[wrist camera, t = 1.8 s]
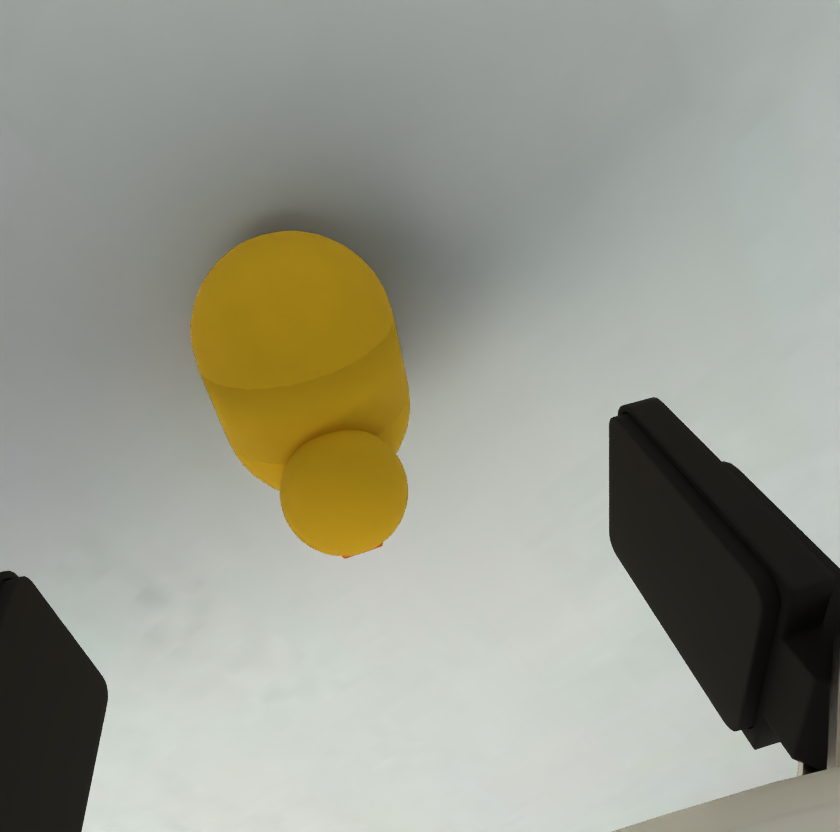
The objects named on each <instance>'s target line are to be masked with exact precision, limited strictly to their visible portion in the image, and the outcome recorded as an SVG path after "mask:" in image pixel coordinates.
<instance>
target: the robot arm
mask: <svg viewBox="0 0 840 832" xmlns="http://www.w3.org/2000/svg"><path fill="white" fill-rule="evenodd" d="M609 535H610V541H611V544H612V547H613V549H614V552H615V553H616V555H617V557H618V558H619V560H620V562H621V563H622V565H623V566H624V568H625V569H626V571H627V572H628V574H629V576H630V577H631V579H632V580H633V582H634V583H635V585H636V586H637V588H638V589H639V591H640V593H641V594H642V596H643V597H644V599H645V600H646V602H647V603H648V605H649V607H650V608H651V610H652V611H653V613H654V614H655V616H656V617H657V619H658V620H659V622H660V624H661V625H662V627H663V628H664V630H665V631H666V633H667V634H668V636H669V637H670V639H671V641H672V642H673V644H674V645H675V647H676V648H677V650H678V651H679V653H680V655H681V656H682V658H683V659H684V661H685V662H686V664H687V665H688V667H689V668H690V670H691V672H692V673H693V675H694V676H695V678H696V679H697V681H698V682H699V684H700V686H701V687H702V689H703V690H704V692H705V693H706V695H707V696H708V698H709V699H710V701H711V703H712V704H713V706H714V707H715V709H716V710H717V712H718V713H719V715H720V716H721V718H722V720H723V721H724V722H725V724H726V725H727V726H728V727H729V728H730V729H731V730H733V731H739V730H742V731H743V733H744V735H745V736H746V738H747V739H748V741H749V742H750V744H751V745H752V747H753V748H754V750H756V749H759V748H762V747H765V746H768V745H772V744H775V743H778V742H781V743H782V745H783V746H784V748H785V749H786V750H787V752H788V753H789V755H790V756H791V758H792V759H794V760H797V761H798V772H797V777H794V778H790V779H785V780H781V781H777V782H773V783H770V784H766V785H763V786H760V787H756V788H753V789H750V790H746V791H743V792H740V793H736V794H733V795H730V796H726V797H723V798H720V799H716V800H713V801H710V802H706V803H703V804H700V805H696V806H693V807H689V808H686V809H683V810H679V811H676V812H673V813H669V814H666V815H663V816H660V817H656V818H653V819H650V820H647V821H644V822H641V823H638V824H635V825H631V826H628V827H625V828H622V829H619V830H616V831H613V832H840V568H839V567H838V566H837V565H836V564H835V563H833V562H832V561H831V560H830V559H829V558H828V557H827V556H826V555H825V554H824V553H823V552H822V551H821V550H820V549H819V548H818V547H817V546H816V545H815V544H814V543H813V542H812V541H811V540H810V539H809V538H808V537H807V536H806V535H805V534H804V533H803V532H802V531H801V530H800V529H799V528H798V527H797V526H796V525H795V524H794V523H793V522H792V521H791V520H790V519H789V518H788V517H787V516H786V515H785V514H784V513H783V512H782V511H781V510H780V509H779V508H778V507H777V506H776V505H775V504H774V503H773V502H772V501H770V500H769V499H768V498H767V497H766V496H765V495H764V494H763V493H762V492H761V491H760V490H759V489H758V488H757V487H756V486H755V485H754V484H753V483H752V482H751V481H750V480H749V479H748V478H747V477H746V476H745V475H744V474H743V473H742V472H741V471H740V470H739V469H738V468H736V467H735V466H734V465H732V464H731V463H728V462H724V461H723V462H721V461H720V460H719V458H718V457H717V456H716V455H715V454H714V453H713V452H712V451H711V450H710V449H709V448H708V447H707V446H706V445H705V444H704V443H703V442H702V441H701V440H700V439H699V438H698V437H697V436H696V435H695V434H694V433H693V432H692V431H691V430H690V429H689V428H688V427H687V426H686V425H685V424H684V423H683V422H682V421H681V420H680V419H679V418H678V417H677V416H676V415H675V414H674V413H673V412H672V411H671V410H670V409H669V408H668V407H667V406H666V405H665V404H664V403H663V402H662V401H661V400H659V399H658V398H654V397H653V398H649V399H645V400H641V401H638V402H634V403H630V404H626V405H623V406H621V407H620V408H619V411H618V416H616V417H613V418H611V419H610V423H609ZM107 701H108V690H107V685H106V682H105V680H104V678H103V676H102V675H101V674H100V672H99V671H98V670H97V668H96V667H95V666H94V664H93V663H92V661H91V660H90V659H89V657H88V656H87V655H86V653H85V652H84V651H83V649H82V648H81V647H80V645H79V644H78V643H77V641H76V640H75V639H74V637H73V636H72V635H71V633H70V632H69V631H68V629H67V628H66V627H65V625H64V624H63V623H62V621H61V620H60V619H59V617H58V616H57V615H56V613H55V612H54V610H53V609H52V608H51V606H50V605H49V604H48V602H47V601H46V600H45V598H44V597H43V596H42V594H41V593H40V592H39V590H38V589H37V588H36V586H35V585H34V584H33V582H32V581H31V580H30V579H29V578H27V577H25V576H23V577H18V576H17V575H16V574H15V573H13V572H11V571H3V572H0V832H81V831H82V826H83V821H84V816H85V811H86V806H87V801H88V796H89V791H90V786H91V781H92V776H93V771H94V766H95V761H96V756H97V751H98V746H99V741H100V736H101V732H102V727H103V722H104V717H105V712H106V707H107Z"/></svg>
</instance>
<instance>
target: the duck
mask: <svg viewBox="0 0 840 832" xmlns="http://www.w3.org/2000/svg"><path fill="white" fill-rule="evenodd" d="M190 326H191V342H192V348H193V351H194V355H195V358H196V362H197V366H198V369H199V372H200V374H201V377H202V379H203V381H204V384H205V386H206V389H207V391H208V393H209V396H210V398H211V401H212V403H213V405H214V408H215V410H216V413H217V415H218V417H219V420H220V422H221V425H222V427H223V429H224V432H225V434H226V437H227V439H228V441H229V443H230V445H231V447H232V448H233V450H234V452H235V454H236V456H237V457H238V458H239V459H240V461H241V462H242V463H243V465H244V466H245V467H246V468H247V469H248V470H249V471H250V472H251V473H252V474H253V475H254V476H256V477H257V478H258V479H260V480H261V481H263V482H264V483H266V484H268V485H269V486H271V487H272V488H274V489H277V490H279V491H280V500H281V506H282V510H283V513H284V516H285V519H286V521H287V523H288V524H289V526H290V528H291V529H292V531H293V532H294V533H295V534H296V535H297V536H298V537H299V538H300V539H301V540H302V541H303V542H304V543H306V544H307V545H308V546H310V547H311V548H313V549H315V550H318V551H320V552H323V553H325V554H330V555H336V556H342V557H343V558H348V557H351V556H354V555H357V554H361V553H364V552H367V551H369V550H372V549H375V548H378V547H381V546H382V544H383V542H384V541H385V540H386V539H387V538H388V537H389V536H390V535H391V534H392V533H393V532H394V531H395V529H396V528H397V526H398V525H399V523H400V521H401V519H402V517H403V515H404V512H405V509H406V505H407V499H408V484H407V477H406V474H405V471H404V468H403V465H402V463H401V461H400V460H399V458H398V456H397V455H396V453H397V451H398V450H399V447H400V445H401V443H402V440H403V438H404V435H405V432H406V429H407V426H408V419H409V413H410V399H409V388H408V383H407V378H406V373H405V368H404V364H403V359H402V354H401V349H400V344H399V339H398V335H397V330H396V325H395V320H394V315H393V311H392V309H391V306H390V303H389V300H388V297H387V294H386V292H385V289H384V288H383V286H382V284H381V282H380V281H379V279H378V277H377V275H376V274H375V273H374V272H373V271H372V270H371V268H370V267H369V266H368V265H367V264H366V263H365V262H364V261H363V260H362V259H361V258H360V257H359V256H358V255H357V254H355V253H354V252H353V251H351V250H350V249H348V248H347V247H346V246H344V245H342V244H340V243H338V242H336V241H334V240H331V239H329V238H327V237H324V236H322V235H318V234H314V233H308V232H302V231H279V232H273V233H268V234H264V235H261V236H257V237H255V238H252V239H249V240H247V241H245V242H243V243H241V244H239V245H237V246H236V247H234V248H233V249H232V250H231V251H229V252H228V253H227V254H226V255H224V256H223V257H222V258H221V259H220V260H219V261H218V262H217V263H216V264H215V265H214V267H213V268H212V269H211V271H210V272H209V273H208V275H207V276H206V278H205V279H204V281H203V282H202V284H201V287H200V289H199V292H198V294H197V296H196V299H195V303H194V307H193V313H192V319H191V325H190Z"/></svg>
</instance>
